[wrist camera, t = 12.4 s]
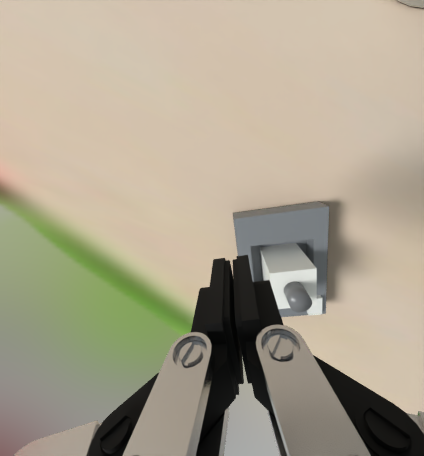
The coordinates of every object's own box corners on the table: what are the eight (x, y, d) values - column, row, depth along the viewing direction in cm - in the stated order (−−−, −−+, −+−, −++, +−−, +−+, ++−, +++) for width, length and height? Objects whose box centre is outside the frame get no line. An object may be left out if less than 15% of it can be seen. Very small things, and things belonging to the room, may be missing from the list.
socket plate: (318, 201, 24) (331, 207, 21) (317, 300, 28) (327, 316, 25) (232, 213, 25) (233, 220, 22) (244, 306, 29) (246, 323, 26)
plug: (295, 242, 25) (326, 280, 18) (296, 273, 27) (325, 320, 19) (259, 247, 26) (274, 285, 18) (262, 277, 27) (277, 324, 20)
